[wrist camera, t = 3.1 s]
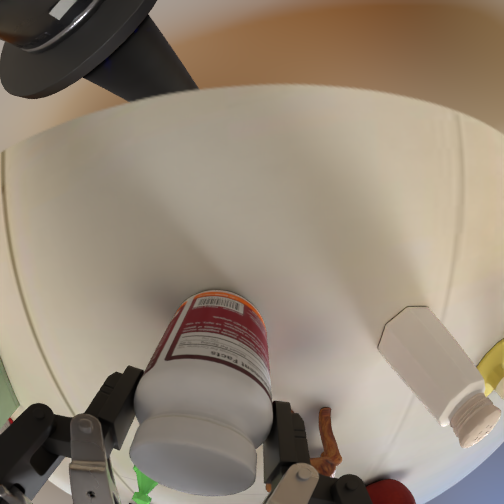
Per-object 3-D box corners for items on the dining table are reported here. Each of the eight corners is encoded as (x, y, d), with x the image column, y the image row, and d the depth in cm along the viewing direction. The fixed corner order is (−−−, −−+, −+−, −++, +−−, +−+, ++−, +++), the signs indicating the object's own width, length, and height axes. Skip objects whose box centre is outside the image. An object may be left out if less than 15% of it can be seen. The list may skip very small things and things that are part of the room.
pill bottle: (211, 376, 19) (184, 506, 8) (157, 314, 17) (79, 437, 7) (284, 340, 18) (306, 486, 7) (232, 268, 16) (198, 406, 6)
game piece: (169, 470, 23) (160, 508, 18) (163, 480, 24) (155, 514, 19) (136, 458, 23) (122, 494, 17) (133, 469, 24) (121, 502, 18)
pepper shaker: (444, 317, 17) (526, 396, 7) (406, 369, 19) (465, 462, 8) (405, 292, 17) (505, 386, 6) (363, 352, 18) (423, 469, 7)
